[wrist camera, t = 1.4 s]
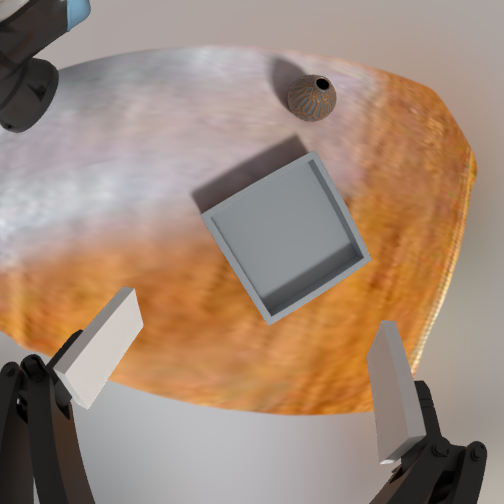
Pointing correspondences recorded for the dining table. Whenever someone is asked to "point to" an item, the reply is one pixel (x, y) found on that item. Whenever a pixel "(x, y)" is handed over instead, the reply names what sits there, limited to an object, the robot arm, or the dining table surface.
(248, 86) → the dining table surface
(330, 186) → the box
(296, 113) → the vase
